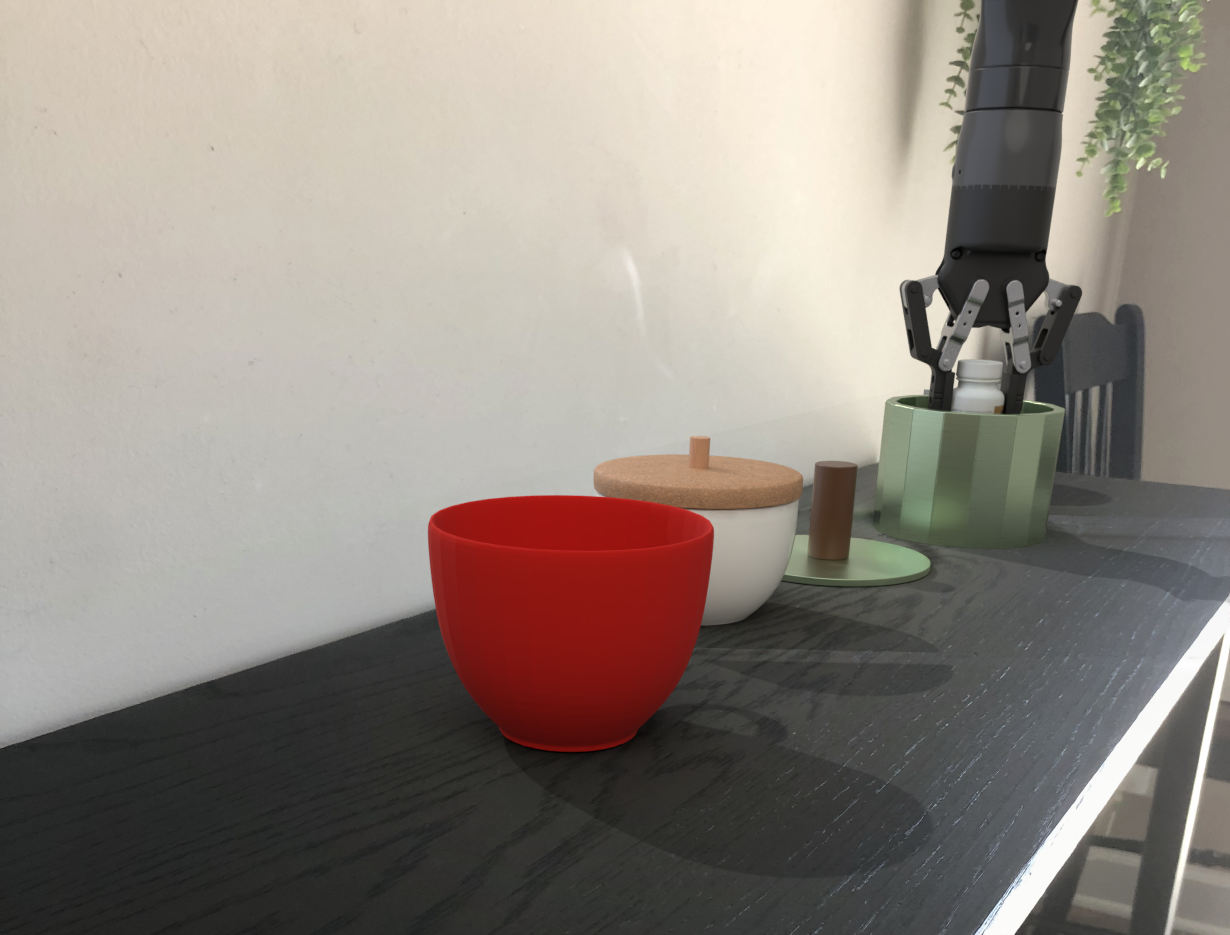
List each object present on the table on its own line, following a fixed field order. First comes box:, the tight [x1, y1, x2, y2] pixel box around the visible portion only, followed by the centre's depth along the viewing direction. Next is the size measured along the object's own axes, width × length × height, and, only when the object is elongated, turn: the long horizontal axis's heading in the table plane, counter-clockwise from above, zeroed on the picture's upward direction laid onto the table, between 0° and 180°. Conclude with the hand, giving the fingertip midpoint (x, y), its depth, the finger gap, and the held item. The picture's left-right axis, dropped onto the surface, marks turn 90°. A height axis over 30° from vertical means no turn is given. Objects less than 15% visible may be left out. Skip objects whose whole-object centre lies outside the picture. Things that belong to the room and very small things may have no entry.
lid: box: [781, 460, 932, 588], centre depth 95 cm, size 15×15×8 cm
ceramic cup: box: [427, 494, 714, 753], centre depth 64 cm, size 13×17×10 cm
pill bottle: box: [951, 358, 1004, 414], centre depth 105 cm, size 4×4×8 cm
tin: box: [872, 394, 1066, 550], centre depth 107 cm, size 14×14×10 cm
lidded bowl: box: [593, 435, 804, 626], centre depth 81 cm, size 13×13×11 cm
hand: (973, 420), depth 105 cm, fingers closed on pill bottle, 4 cm apart
